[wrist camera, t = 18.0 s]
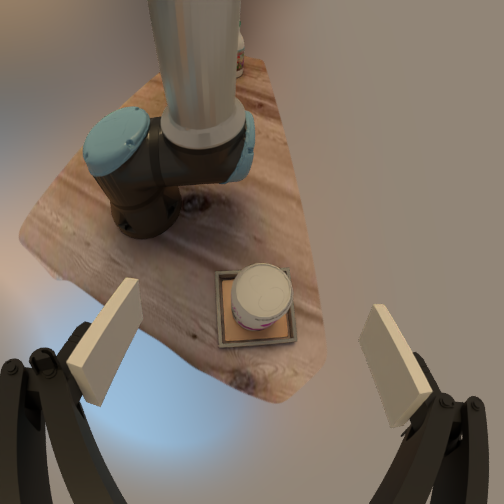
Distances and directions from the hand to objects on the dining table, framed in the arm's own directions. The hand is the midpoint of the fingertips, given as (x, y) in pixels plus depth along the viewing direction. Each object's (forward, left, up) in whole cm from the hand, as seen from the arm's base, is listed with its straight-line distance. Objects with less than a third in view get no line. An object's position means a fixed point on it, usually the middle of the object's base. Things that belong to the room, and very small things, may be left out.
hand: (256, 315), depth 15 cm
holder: (+5, +4, -34) cm, 35 cm away
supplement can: (+5, +4, -34) cm, 35 cm away
